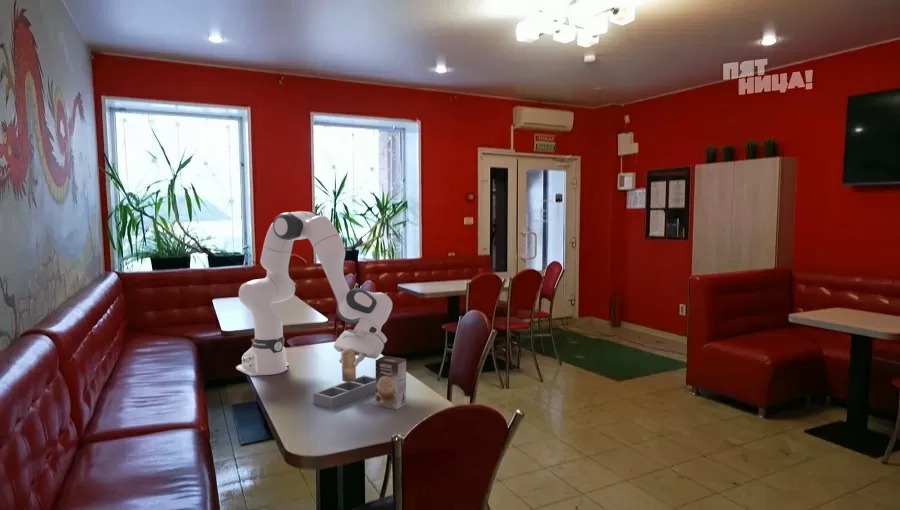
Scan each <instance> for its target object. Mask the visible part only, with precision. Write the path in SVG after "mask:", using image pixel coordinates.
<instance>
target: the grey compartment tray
mask: <svg viewBox="0 0 900 510" xmlns="http://www.w3.org/2000/svg"><path fill="white" fill-rule="evenodd" d="M373 393H376V377H374V376H368V375H361V376H358V377H356V380H355V381H351V382H345V381H343V382H341V383H338V384H335V385H333V386H332V385H331V386H329V387H327V388H324V389H322V390H319V391H315V392H313V405H316V406H319V405H320V407H322V406H323V408H326V409H329V408H330V409H329V410H334V409H336V407H337V408H338V406H339V407H341V406H343V405H344V406H345V405H346V404H349V403H351V402H354V401H356V400H359V399H360V398H361V399H362V398H364V397H366V396H368V395H371V394H373ZM333 408H334V409H333Z"/></svg>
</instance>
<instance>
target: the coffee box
mask: <svg viewBox="0 0 900 510" xmlns="http://www.w3.org/2000/svg"><path fill="white" fill-rule="evenodd" d="M375 378H376V392H375V406H378V407H382V408H386V409H387V408H388V409H392V410H399V409H400V408H402V407H403V406H405V405H406V404H407V359H406V358H402V357H397V356H396V357H394V356H388V355H383V356H381V357H378V358H376V359H375Z"/></svg>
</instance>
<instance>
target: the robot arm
mask: <svg viewBox="0 0 900 510" xmlns="http://www.w3.org/2000/svg"><path fill="white" fill-rule="evenodd" d="M305 239H308V240H309V242H310V244H311V245H312V246H311V247H312V249H313V251H314V253H315V254H316V256H317V259H318V261H319V262H320V264H321V267H322V269H323V271H324V273H325V275H326V276H325V277H326V278H327V282H328V283H329V286H330V288H331V291H332V292H333V295H334V298H335V301H336V313H337V315H338V317H339V318H340V319H341V320H342V321H343V322H346V323H350V324H351V323H356V322H357V323H356V326H355V327H354V329H349V328H348V329H346V330H344V331H343V332H342V333H341V334H340V335H339V337H337V339H336V340H335V342H334V343H333V348H334V349H335V350H336V351H337V352H339V353H340V358H339V360H338V362H339V363H340V364H342V352H343V351H344V350H345V349H347V348H351V349H353V350H354V351H355V356H357V357H356V359H355V360H353V362H352V363H351V364H352V365H353V366H356V367H357V366H358V365H359V363H361V362H363V361H364V360H365V358H368V359H374V360H377V359H378V358H380V355H381V354H382V352H383V350H384V347H385V344H386V342H387V341H388V339H387V337H386V335H385V334H384V333H383V332H382V331H381V330H382V327H383V325H384V324H385V323H386V322H387V320H388V319H389V317H390V314H391V312H392V309H393V301H392V299H391V298H390V296H389V295H387V294H386V293H384V292H381V291H379V292H372V291H368V290H366V289H364V288H361V287H354V288H352V289H350V286H349V285H348V282H347V279H346V277H345V275H344V262H345V258H346V248H345V244H344V241H343V240H342V238H341V236H340V233H339V232H338V230H337V229H336V227H335V226H334V224H333V222H332V221H331V220H330V219H329V217H327V216H325V215H322V214H321V215H320V214H319V213H318V212H315V211H304V210H303V211H302V210H297V211H291V212H289V211H287V212H283V213H282V212H281V213H280V214H278V215H276V216H275V218H274V220H273V222H272V223H271V224H270V226H269V228H268V230H267V232H266V236H265V239H264V242H263V247H262V251H261V255H260V260H259V261H260V265H261V267H262V268H263V269H264V270H266V276H265V277H264V278H258V279H252V280H249V281H246V282H244V283H242V284H241V285H240V287H239V290H238V299H239V301H240V302H241V304H242V305H244V306H245V307H246V308H247V309H248V310H249V312H250V313H251V316H252V318H253V325H254V338H252V339H251V342H252V345H251V347H250V348H249V349H248V350H246V352H244V353H243V355H242V357H241V358H242V359H241V364H238V365H237V366H235V368H236V370H238V371H240V372H242V373H243V374H246V375H248V376H249V377H255V376H270V375H278V374H281V373H284V372H286V371H287V370H288V367H289V366H290V364H289V362H288V359H287V351H286V347H285V346H284V345H285V336H284V334H283V331H284V330H283V327H284V325H283V318H282V316H281V315H280V314H278V313H277V312H275V310H274V307H273V304H279V303H283V302H285V301H287V300H289V299H291V298H293V297H294V295H295V292H296V286H295V285H296V284H295V282H294V280H293V279H292V278H291V277H290V275H289V264H290V260H291V259H290V258H291V254H292V250H293V246H294V245H293V244H294V242H295V241H297V240H300V241H301V240H305ZM287 366H288V367H287Z"/></svg>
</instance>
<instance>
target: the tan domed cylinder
mask: <svg viewBox="0 0 900 510" xmlns="http://www.w3.org/2000/svg"><path fill="white" fill-rule="evenodd" d="M356 356H357V355H355V351H354V350H353V349H351V348H347V349H345V350H344V351H343V352H342V363H341V374H342V375H341V379H342V380H341V381H343V382H351V381H355V380H356V378H357V375H356V374H357V371H356V369H357V368H356V367H357V366H353V365H352V364H351V363H352V362H353V360H355V359H356V358H357V357H356Z"/></svg>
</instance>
